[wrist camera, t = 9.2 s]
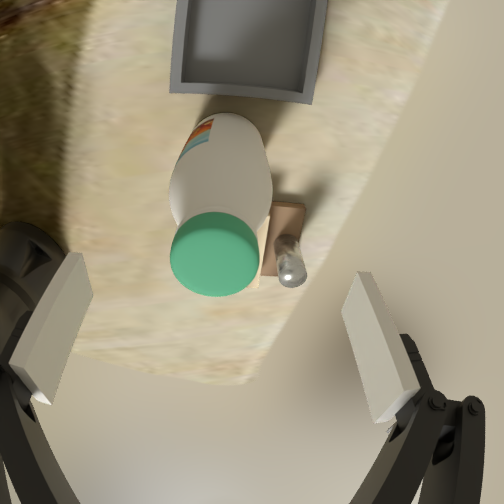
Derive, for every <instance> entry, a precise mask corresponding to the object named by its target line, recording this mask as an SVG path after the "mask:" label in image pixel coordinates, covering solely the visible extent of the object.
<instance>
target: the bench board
mask: <svg viewBox="0 0 504 504" xmlns="http://www.w3.org/2000/svg"><path fill="white" fill-rule="evenodd" d="M305 211H306V208H305V205H304V204H298V203H287V202H276V201H272V203H271V207H270V210H269V214H270V219H269V225H268V231H267V237H266V244H265V250H264V256H263V262H262V268H261V274H260V275H261V276H278V270H277V265H276V259H275V253H274V247H273V244H274V241H275V239H276V238H277V237H278V236H280V235H283V234H291V235H293V236H295V237H296V238H297V240H298V243H299V238H300V234H301V229H302V225H303V220H304V216H305Z"/></svg>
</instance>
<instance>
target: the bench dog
mask: <svg viewBox="0 0 504 504" xmlns="http://www.w3.org/2000/svg"><path fill="white" fill-rule="evenodd" d="M273 247H274V253H275V259H276V265H277V270H278V276H279V281H280V283H281V284H282V285H283V286H285V287H289V288H294V287H298V286H300V285H302V284H303V283H304V282H305V281H306V279H307V272H306V268H305V265H304V261H303V258H302V254H301V251H300V247H299V244H298V240H297V238H296V237H295V236H293V235H291V234H283V235H280V236H278V237H277V238H276V239H275V241H274V244H273Z"/></svg>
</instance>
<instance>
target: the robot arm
mask: <svg viewBox="0 0 504 504" xmlns="http://www.w3.org/2000/svg"><path fill="white" fill-rule="evenodd" d="M92 298H93V292H92V289H91V285H90V281H89V278H88V274H87V270H86V266H85V262H84V258H83V254H82V253H75V252H69V253H68V254H67V256H66V257H65V255H64V253H63V252H62V250H61V249H60V247H59V246H58V245H57V244H56V243H55V242H54V240H53V239H52V238H50V237H49V236H48V235H47V234H46V233H44V232H43V231H42V230H40V229H38V228H37V227H35V226H33V225H30V224H27V223H24V222H10V223H7V224H5V225H4V226H3V227H1V229H0V504H12V503H11V499H10V494H9V490H8V486H7V480H6V475H5V470H4V464H5V467H6V469H7V472H8V474H9V477H10V479H11V481H12V484H13V486H14V489H15V491H16V493H17V495H18V497H19V500H20V502H21V504H80V502H79V501H78V499H77V497H76V496H75V494H74V492H73V490H72V489H71V487H70V485H69V483H68V482H67V480H66V478H65V476H64V474H63V472H62V471H61V469H60V467H59V465H58V463H57V461H56V459H55V456H54V454H53V452H52V450H51V448H50V446H49V444H48V441H47V440H46V437H45V435H44V433H43V430H42V428H41V425H40V423H39V421H38V418H37V415H36V413H35V410H34V407H33V405H32V403H31V401H30V398H31V395H33V396H34V397H35V398H36V400H37V401H40V402H43V403H46V404H50V405H52V404H53V400H54V397H55V394H56V391H57V388H58V385H59V382H60V379H61V376H62V373H63V370H64V368H65V365H66V362H67V359H68V357H69V354H70V351H71V349H72V346H73V343H74V341H75V338H76V336H77V333H78V331H79V328H80V326H81V323H82V321H83V319H84V316H85V314H86V311H87V309H88V307H89V305H90V302H91V300H92ZM341 313H342V316H343V319H344V322H345V325H346V329H347V332H348V335H349V339H350V342H351V345H352V349H353V352H354V355H355V359H356V362H357V366H358V369H359V372H360V376H361V379H362V383H363V387H364V391H365V394H366V398H367V402H368V406H369V409H370V413H371V417H372V421H373V424H374V423H381V422H386V421H389V420H390V419H391V418H392V417H393V416H394V415H395V416H396V419H397V422H395V423H394V424H393V425H392V426H391V427H390V428H389V429H388V430H387V433H389V432H390V431H391V432H390V434H389V436H388V438H387V440H386V442H385V444H384V446H383V448H382V449H381V451H380V453H379V455H378V457H377V459H376V460H375V462H374V464H373V466H372V468H371V469H370V471H369V473H368V474H367V476H366V478H365V479H364V482H363V483H362V484H361V486H360V488H359V489H358V491H357V492H356V494H355V496H354V497H353V499H352V500H351V502H350V503H349V504H411V502H412V501H413V499H414V496H415V494H416V492H417V490H418V488H419V485H420V484H421V481H422V479H423V483H422V488H421V493H420V498H419V502H418V504H480V497H481V488H482V479H483V468H484V453H485V408H484V405H483V403H482V401H481V400H480V399H479V398H477V397H475V396H468V397H466V398H465V399H464V400H463V401H462V402H460V401H454V400H448V399H447V398H446V397H445V396H444V394H442V393H441V392H440V391H437V390H435V389H434V387H433V385H432V383H431V380H430V378H429V375H428V373H427V370H426V368H425V366H424V363H423V361H422V358H421V356H420V354H419V351H418V349H417V347H416V344H415V342H414V341H413V340H412V339H411V338H410V336H409V335H408V334H399V333H398V330H397V328H396V326H395V323H394V321H393V319H392V317H391V314H390V312H389V310H388V308H387V305H386V303H385V301H384V299H383V297H382V295H381V293H380V290H379V288H378V286H377V284H376V282H375V280H374V278H373V276H372V274H371V272H357V273H356V275H355V278H354V281H353V283H352V286H351V288H350V291H349V293H348V296H347V298H346V301H345V303H344V305H343V308H342V310H341ZM3 461H4V464H3ZM423 477H424V478H423Z"/></svg>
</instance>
